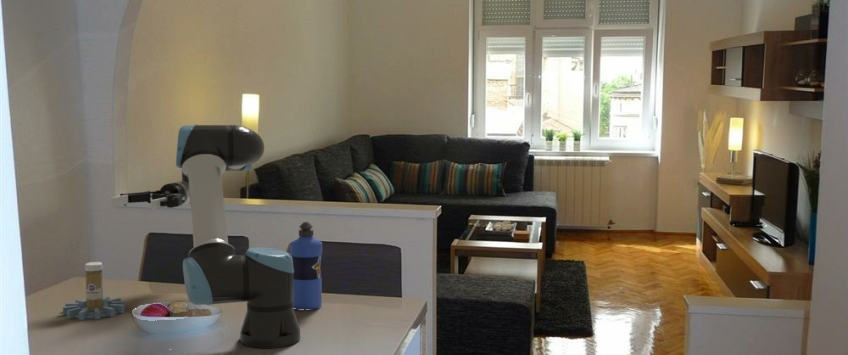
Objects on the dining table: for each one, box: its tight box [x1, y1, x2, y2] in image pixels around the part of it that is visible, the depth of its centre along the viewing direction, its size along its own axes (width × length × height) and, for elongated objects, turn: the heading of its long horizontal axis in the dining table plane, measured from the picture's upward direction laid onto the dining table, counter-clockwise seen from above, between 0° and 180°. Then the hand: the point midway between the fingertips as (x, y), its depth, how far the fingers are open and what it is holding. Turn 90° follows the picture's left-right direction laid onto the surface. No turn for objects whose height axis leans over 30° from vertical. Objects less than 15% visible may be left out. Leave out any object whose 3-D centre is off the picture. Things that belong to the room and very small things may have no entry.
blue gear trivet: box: [62, 296, 127, 321], centre depth 227 cm, size 16×16×2 cm
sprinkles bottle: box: [84, 261, 104, 311], centre depth 226 cm, size 5×5×14 cm
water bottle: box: [289, 221, 323, 310], centre depth 235 cm, size 9×9×25 cm
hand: (131, 203), depth 231 cm, fingers open, 13 cm apart
